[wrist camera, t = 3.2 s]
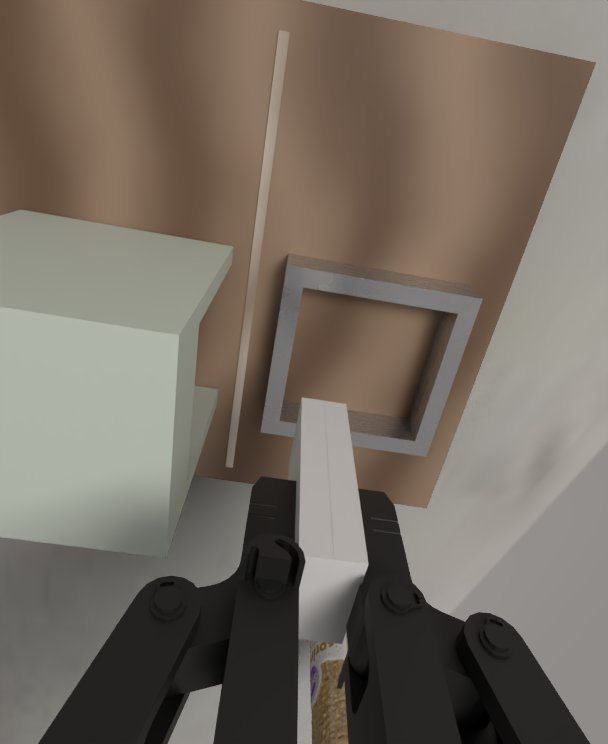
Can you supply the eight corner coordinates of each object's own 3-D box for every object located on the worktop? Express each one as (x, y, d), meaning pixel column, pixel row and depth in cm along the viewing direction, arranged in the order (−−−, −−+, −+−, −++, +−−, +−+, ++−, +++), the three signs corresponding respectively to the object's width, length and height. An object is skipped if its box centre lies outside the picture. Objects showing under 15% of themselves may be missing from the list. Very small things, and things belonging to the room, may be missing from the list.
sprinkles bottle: (306, 562, 32) (305, 823, 20) (375, 559, 32) (415, 822, 20) (310, 608, 34) (311, 869, 22) (375, 606, 34) (411, 868, 22)
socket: (264, 410, 25) (260, 432, 23) (288, 253, 21) (286, 265, 19) (418, 433, 25) (426, 456, 24) (468, 284, 22) (482, 298, 20)
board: (-117, 413, 27) (-257, 509, 20) (-256, -109, 17) (-620, -258, 10) (421, 490, 29) (454, 599, 22) (576, 66, 19) (718, 36, 13)
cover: (36, 375, 24) (-123, 521, 15) (20, 209, 20) (-200, 274, 12) (217, 402, 25) (166, 558, 16) (233, 246, 21) (179, 335, 12)
